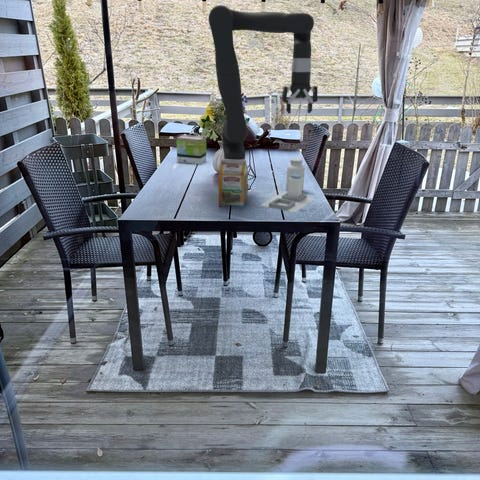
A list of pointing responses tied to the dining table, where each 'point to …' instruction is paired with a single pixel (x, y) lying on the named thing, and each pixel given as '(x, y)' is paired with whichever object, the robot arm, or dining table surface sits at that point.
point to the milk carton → (233, 182)
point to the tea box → (191, 149)
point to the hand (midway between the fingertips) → (299, 113)
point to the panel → (288, 202)
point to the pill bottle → (295, 170)
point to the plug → (295, 186)
